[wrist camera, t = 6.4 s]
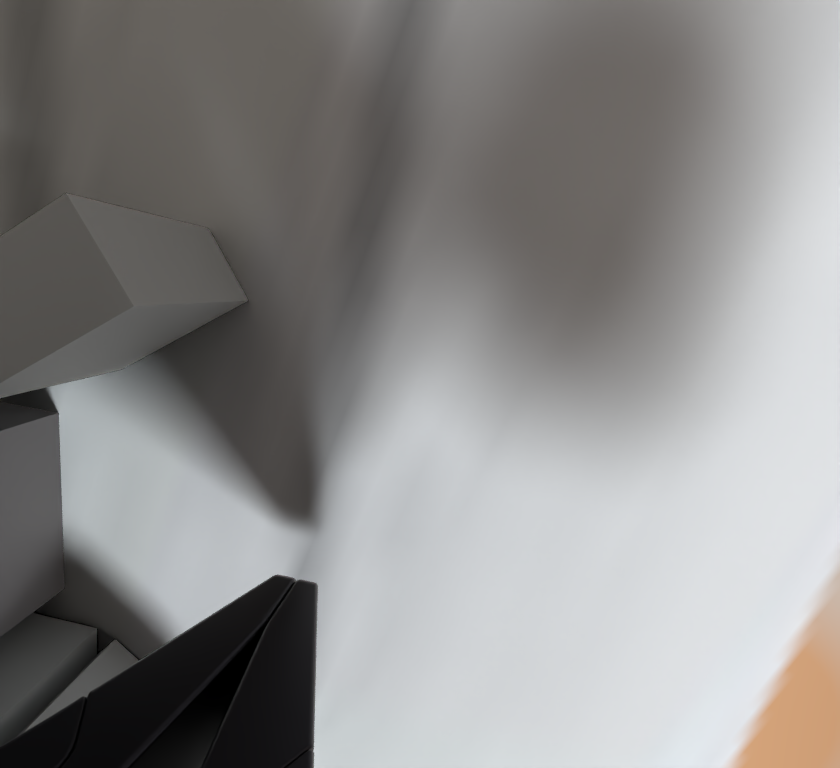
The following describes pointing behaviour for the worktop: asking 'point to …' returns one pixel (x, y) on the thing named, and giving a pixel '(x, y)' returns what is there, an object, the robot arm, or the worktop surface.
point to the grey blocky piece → (85, 357)
